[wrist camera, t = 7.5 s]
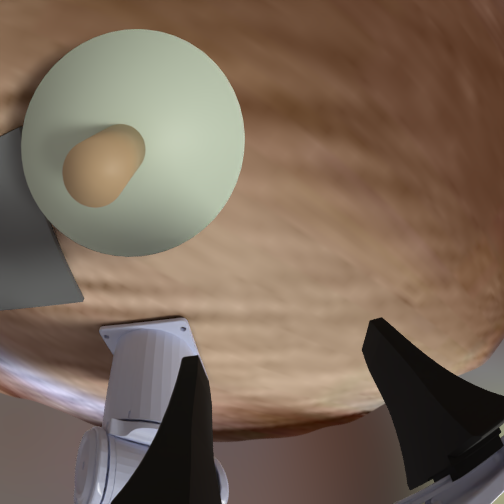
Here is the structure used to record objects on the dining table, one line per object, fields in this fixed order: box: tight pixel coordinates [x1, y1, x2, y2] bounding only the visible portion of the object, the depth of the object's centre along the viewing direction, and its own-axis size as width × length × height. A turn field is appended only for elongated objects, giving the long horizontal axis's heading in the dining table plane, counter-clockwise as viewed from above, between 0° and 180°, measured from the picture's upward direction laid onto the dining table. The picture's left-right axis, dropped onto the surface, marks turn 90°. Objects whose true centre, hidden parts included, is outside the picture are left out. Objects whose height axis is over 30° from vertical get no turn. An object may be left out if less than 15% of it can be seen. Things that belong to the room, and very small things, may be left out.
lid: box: [21, 29, 245, 257], centre depth 10 cm, size 11×11×4 cm
